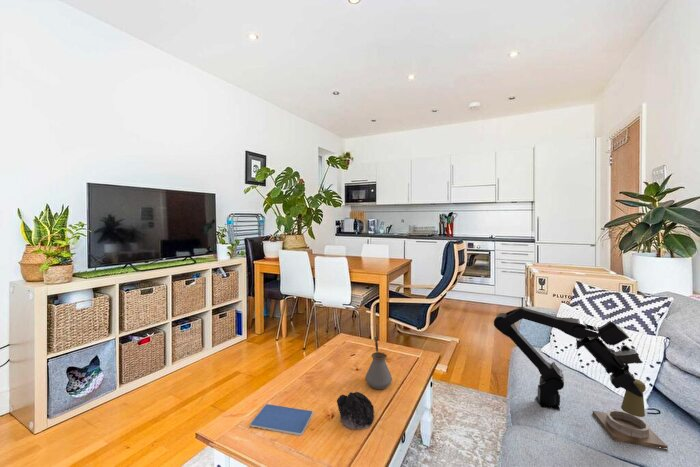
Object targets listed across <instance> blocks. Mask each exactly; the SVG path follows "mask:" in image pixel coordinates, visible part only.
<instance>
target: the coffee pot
mask: <svg viewBox="0 0 700 467" xmlns="http://www.w3.org/2000/svg"><path fill="white" fill-rule="evenodd" d="M374 342H375V344H374V346H375V351H376V352H373V353H372V354H371V358H372V362H371V364H370V366H369V368H368V369H367V372H366V374H365V381H366V383H367V384H368V385H369V386H370V387H371V388H372V389H374V390H385V389H386V388H388V387H389V386H390V385H391V384H392V381H393V377H392V374H391V372H390V369H389V367H388V365H387V362H386V359H387V357H388V355H387V354H386V353H384V352H379V344H378V337H376V336H375V337H374Z"/></svg>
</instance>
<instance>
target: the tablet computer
mask: <svg viewBox="0 0 700 467" xmlns="http://www.w3.org/2000/svg"><path fill="white" fill-rule="evenodd" d="M313 416H314V410H308V409H301V408H295V407H290V406H283V405H278V404H276V405H275V404H268V403H266V404H265V405H263V407H262V408H261V409H260V411H259V412H258V413H257V414H256V415H255V417H254V418H253V420H252V421H251V422H250V423H249V427H250V426H252V427H251V428H254V427H258V428H257V429H260V428H262V430H266V429H268V430H267V431H272V432H278V433H282V434H283V433H284V434H289V435H294V436H299V437H301V436H303V435H304V433H305V431H306V429H307V427H308V426H309V423H310V421H311V419H312V417H313Z"/></svg>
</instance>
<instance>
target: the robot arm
mask: <svg viewBox="0 0 700 467" xmlns="http://www.w3.org/2000/svg"><path fill="white" fill-rule="evenodd" d="M521 320H526V321H530V322H534V323H536V324H540V325H544V326H547V327H549V328H553V329H556V330H559V331H561V332H563V333H564V334H566V335H568V336H571V337H572V338H574V339H575V341H576V343H575V346H576V348H577V349H580V348H582V347H584V348H585V349H586V350H587V352H588V353H590V355H592V357H593V358H594V359H595V361H596V363H597V364H600V365H601V366H602V368H604V370H605V372H606V373H607V374H608V375H609V374H610V375H609V380H610V382H611V384H612V386H614V388H615V389H619V388H621V389H624V390H625V391H626V390H627V391H629V392H631V393H633V394H635V395H637V396H639V397H642V396H643V397H644V393H643V394H642V393H641V392H640V390H639V389H638V387H637V386H636V385H635V383H634V381H635V379H636V378H635V376H634V374H633V373H631V372H630V364H641V363H642V359H641V358H640V356H639V354H638V352H637V350H636V349H635V348H632V347H631V348H630V347H629V346H628V345H626V344H624V345H621V346H620V349H618V350H617V351H614V349H612V348H610V347H608V346H607V345H609V346H616V345H618V344H620V343H621V342H624V341H625V340H628V339H629V338H630V336H629V335H628V334H627V333H626V332H625V331H624V330H623V329H622V328H621V326H618V325H617V324H616V323H615V322H613V320H609V321H607V322H606V323H605V324H603V325H600V326H599V327H598V326H596V325H592V324H588V323H586V322H585V321H584V320H582V319H579V318H573V317H559V316H554V315H551V314H549V313H545V312H540V311H538V310H537V311H536V310H534V309H530V308H527V307H525V306H518V307H517V308H515V309H511V310H509V311H507V312H499V313H498V314H497V315H496V316H495V318H494V320H493V326H494V327H495V329H496V330H498V331H499V332H500V333H501V334H502V335H504V336H506V337H508V338H509V339H510V340H511V341H512V342H513V343H514V344H515V345H516V347H517V348H518V349H519V350H520V351H521V353H523V354H524V355H525V356H526V358H527V359H528V360H529V361H530V362H531V363H532V365H534V366H535V367H536V369H537V370H538V372H539V374H540V376H539V384H538V385H537V396H535V399H536V401H537V402H538V404H539V406H540V407H541V408H546V409H553V410H559V411H560V410H561V407H560V405H561V395H560V390H562V389H563V388H564V386H565V377H564V373H563V370H562V369H561V368H560V367H558V365H557V364H556V362H554V361H552V363H550V362H548V361H547V360H545V358H544V357H543V356H542V355H541V354H540V353H539V351H538V350H537V349H536V348H534V346H533V345H532V344H531V343H530V342H529V341H528V340H527V339H526V337H524V335H522V333H520V331H519V330H518V328H517V325H516V324H515V323H517V322H519V321H521Z"/></svg>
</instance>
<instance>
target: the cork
mask: <svg viewBox="0 0 700 467" xmlns="http://www.w3.org/2000/svg"><path fill="white" fill-rule="evenodd" d="M634 383H635V385H636V386H637V387H638V389H639V390H640V392H641V393H642V394H643V396H642V397H639V396H637V395H635V394H633V393H631V392H629V391H627V390H625V392H624V396H623V399H622V403H621V405H620V409H621V411H625V412H627V413H629V414H631V415H634V416H637V417H639V418H644V417H646V411H645V399H644V392H646V388H647V387H646V385H645V383H644V382H643V381H641V380H639V379H637V378H635V381H634Z"/></svg>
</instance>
